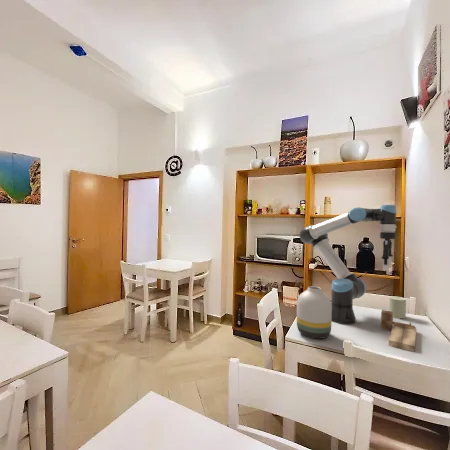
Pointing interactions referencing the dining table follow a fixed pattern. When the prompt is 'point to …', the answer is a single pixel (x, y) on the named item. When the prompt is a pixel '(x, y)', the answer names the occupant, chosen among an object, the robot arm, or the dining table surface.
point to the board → (403, 337)
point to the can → (397, 306)
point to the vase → (314, 313)
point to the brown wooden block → (391, 321)
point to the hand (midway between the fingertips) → (387, 269)
